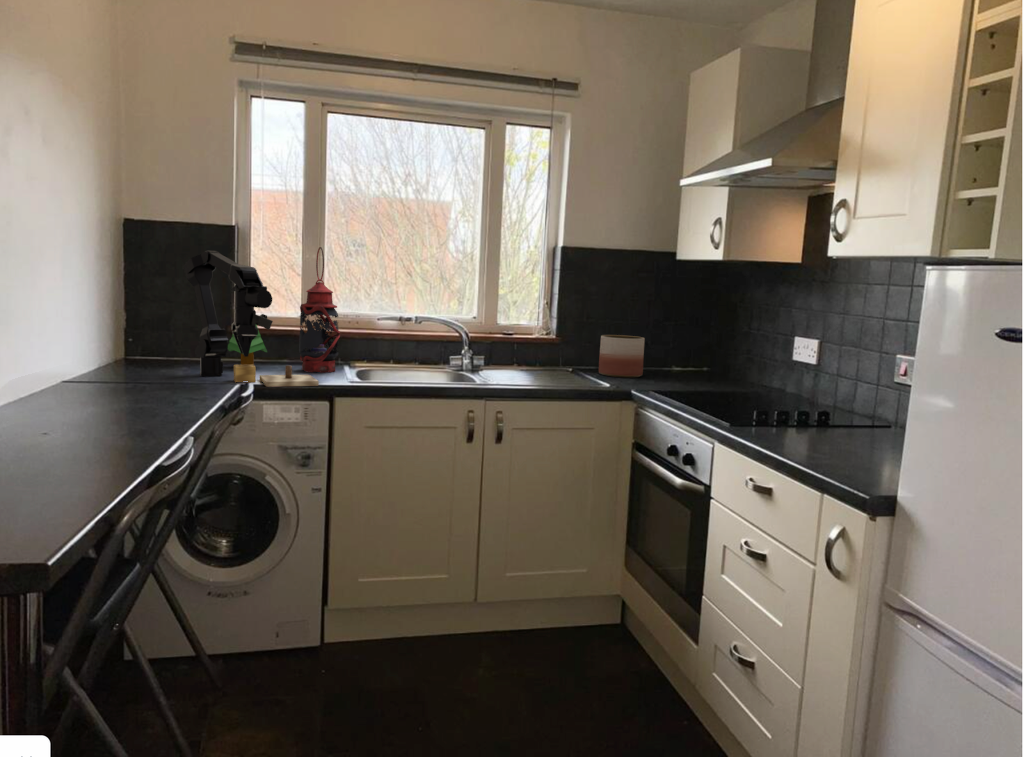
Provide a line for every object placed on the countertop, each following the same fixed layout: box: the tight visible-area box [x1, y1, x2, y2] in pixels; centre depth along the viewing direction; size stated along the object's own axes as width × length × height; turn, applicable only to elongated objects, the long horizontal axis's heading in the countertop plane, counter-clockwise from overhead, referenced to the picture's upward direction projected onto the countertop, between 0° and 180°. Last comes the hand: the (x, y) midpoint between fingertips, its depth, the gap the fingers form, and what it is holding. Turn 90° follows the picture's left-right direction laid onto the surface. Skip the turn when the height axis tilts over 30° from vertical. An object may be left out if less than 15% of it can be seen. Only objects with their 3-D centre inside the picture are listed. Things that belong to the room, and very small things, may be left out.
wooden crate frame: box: [233, 364, 257, 383], centre depth 248 cm, size 6×6×5 cm
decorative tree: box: [227, 325, 268, 366], centre depth 280 cm, size 14×16×30 cm
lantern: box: [298, 246, 341, 374], centre depth 280 cm, size 16×15×45 cm
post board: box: [258, 364, 320, 388], centre depth 249 cm, size 16×16×6 cm
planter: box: [598, 334, 645, 379], centre depth 311 cm, size 18×18×16 cm
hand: (244, 354), depth 247 cm, fingers open, 9 cm apart
